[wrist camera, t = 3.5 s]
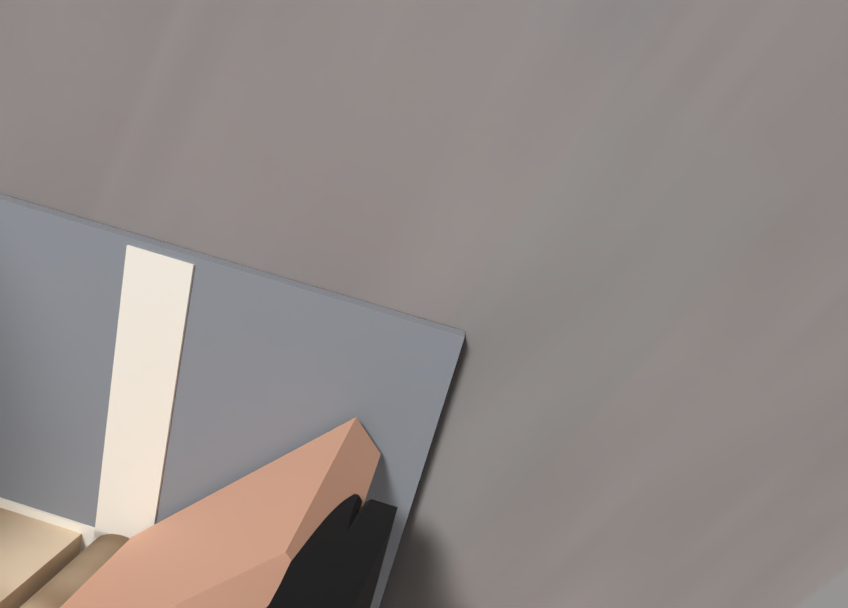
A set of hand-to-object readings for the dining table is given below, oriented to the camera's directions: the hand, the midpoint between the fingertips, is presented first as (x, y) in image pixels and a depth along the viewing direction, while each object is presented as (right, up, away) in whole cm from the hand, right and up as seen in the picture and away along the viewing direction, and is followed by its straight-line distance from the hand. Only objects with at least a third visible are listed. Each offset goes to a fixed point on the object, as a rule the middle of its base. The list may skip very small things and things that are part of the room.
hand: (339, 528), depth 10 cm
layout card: (-7, 0, +3) cm, 8 cm away
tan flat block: (-3, 0, +2) cm, 4 cm away
